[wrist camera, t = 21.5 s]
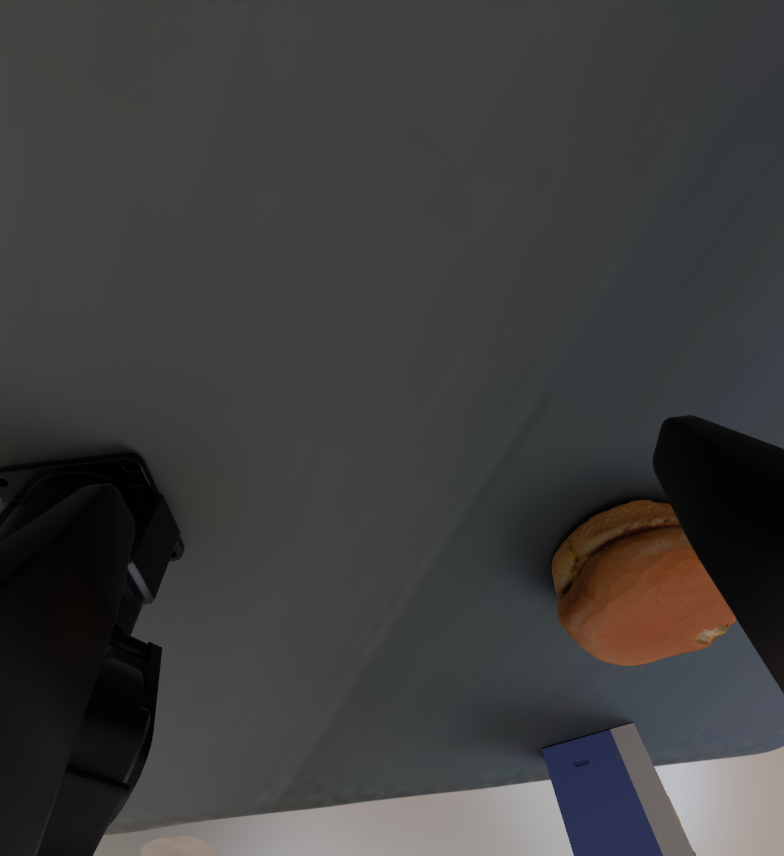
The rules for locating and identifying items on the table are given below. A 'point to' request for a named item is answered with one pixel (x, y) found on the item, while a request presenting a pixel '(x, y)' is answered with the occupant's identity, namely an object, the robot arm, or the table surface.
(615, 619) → the burger
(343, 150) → the table surface
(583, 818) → the walkman
